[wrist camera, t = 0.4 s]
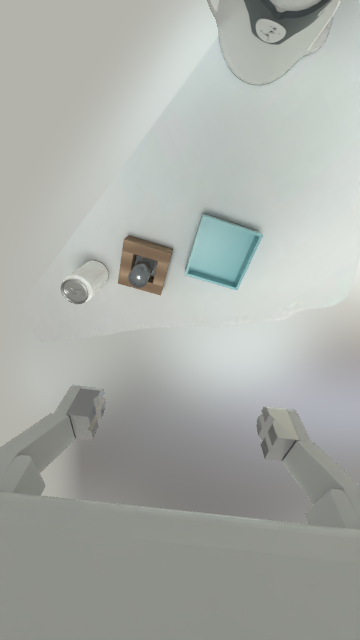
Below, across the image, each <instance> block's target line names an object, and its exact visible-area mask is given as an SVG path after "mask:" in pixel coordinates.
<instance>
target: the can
mask: <svg viewBox="0 0 360 640" xmlns="http://www.w3.org/2000/svg"><path fill="white" fill-rule="evenodd" d="M107 279H108V271H107V269H106V267H105V266H104V265H103V264H102V263H100V262H98V261H94V260H92V261H88V262H86V263H85V264H83V265H82V266H81V267H79V268H78V269H77V270H75V271H74V272H72V273H71V274H70V275H68V276H67V277H66V278H65V279H64V281H63V283H62V285H61V292H62V295H63V296H64V297H65V298H66V299H67V300H68V301H69V302H71V303H74V304H82V303H84V302H87V301H89V300H90V299H91V298H92V297H93V296H94V295H95V294H96V292H97V291H98V290H99V289H100V288H101V287H102V286H103V285H104V284H105V282H106V281H107Z"/></svg>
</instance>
